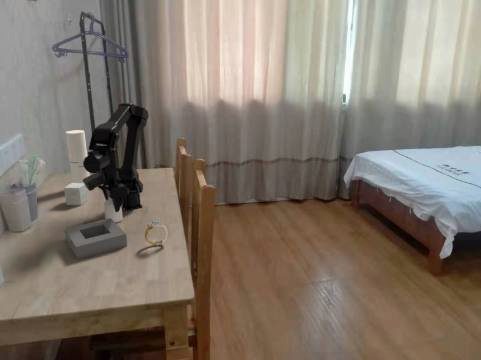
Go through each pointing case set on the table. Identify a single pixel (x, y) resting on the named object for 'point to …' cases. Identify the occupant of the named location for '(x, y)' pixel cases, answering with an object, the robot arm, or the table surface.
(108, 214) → the eye dropper bottle
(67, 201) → the product box
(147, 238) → the bracelet
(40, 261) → the table surface
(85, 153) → the cylindrical container
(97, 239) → the holder block
